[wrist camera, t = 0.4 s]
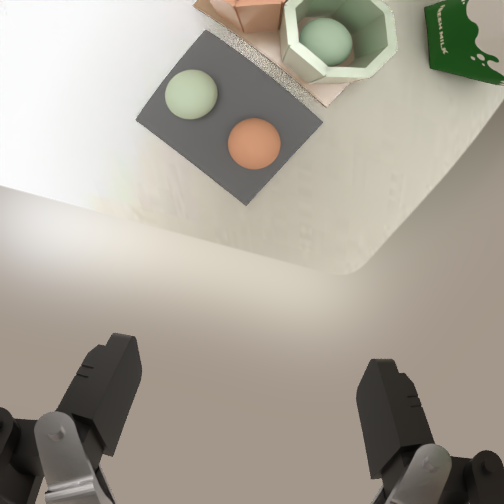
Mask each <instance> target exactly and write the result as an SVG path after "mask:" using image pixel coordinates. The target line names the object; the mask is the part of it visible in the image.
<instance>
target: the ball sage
mask: <svg viewBox="0 0 504 504" xmlns="http://www.w3.org/2000/svg"><path fill="white" fill-rule="evenodd" d="M217 96H218V91H217V86H216V84H215V82H214V80H213V79H212V78H211V77H210V76H209V75H208V74H207V73H205V72H203V71H200V70H185V71H182V72H180V73H178V74H177V75H175V76H174V77H173V78H172V79H171V80H170V82H169V83H168V85H167V88H166V91H165V100H166V104H167V106H168V108H169V109H170V111H171V112H172V113H173V114H175V115H176V116H178V117H180V118H183V119H197V118H200V117H203V116H204V115H206V114H207V113H209V112H210V111H211V110H212V108H213V107H214V105H215V103H216V101H217Z"/></svg>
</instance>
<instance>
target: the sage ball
mask: <svg viewBox="0 0 504 504" xmlns="http://www.w3.org/2000/svg"><path fill="white" fill-rule="evenodd" d="M299 42H300V43H301V44H302V45H304V46H305V47H306V48H307V49H308V50H310V51H311V52H312V53H313V54H314V55H316V56H317V57H318V58H319V59H320V60H321V61H323V62H324V63H325V64H326V65H327V66H335V65H338V64H340V63H342V62H343V61H344V60H346V59H347V58H348V56H349V55H350V53H351V50H352V38H351V35H350V33H349V31H348V30H347V29H346V27H345V26H344V25H342V24H341V23H339V22H338V21H336V20H333V19H329V18H318V19H314V20H312V21H310V22H308V23H307V24H306V25H305V26H304V27H303V29H302V30H301V32H300V36H299Z"/></svg>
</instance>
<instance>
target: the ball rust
mask: <svg viewBox="0 0 504 504" xmlns="http://www.w3.org/2000/svg"><path fill="white" fill-rule="evenodd" d="M280 146H281V141H280V136H279V134H278V132H277V130H276V129H275V127H274V126H273V125H272V124H270V123H269V122H267V121H265V120H263V119H259V118H250V119H245V120H243V121H241V122H239V123H238V124H237V125H236V126H235V127H234V128H233V129H232V131H231V133H230V135H229V138H228V149H229V153H230V155H231V157H232V158H233V159H234V161H235V162H236V163H237V164H239V165H240V166H242V167H244V168H248V169H261V168H264V167H266V166H268V165H270V164H271V163H272V162H273V161H274V160H275V159H276V158H277V156H278V154H279V151H280Z"/></svg>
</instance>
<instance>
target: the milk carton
mask: <svg viewBox="0 0 504 504" xmlns="http://www.w3.org/2000/svg"><path fill="white" fill-rule="evenodd" d="M424 9H425V16H426V24H427V33H428V44H429V57H430V68H432V69H436V70H441V71H445V72H449V73H453V74H456V75H460V76H464V77H467V78H471V79H475V80H478V81H482V82H486V83H491V84H495V85H503V86H504V0H445V1H442V2H439V3H436V4H433V5H431V6H428V7H425V8H424Z"/></svg>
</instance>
